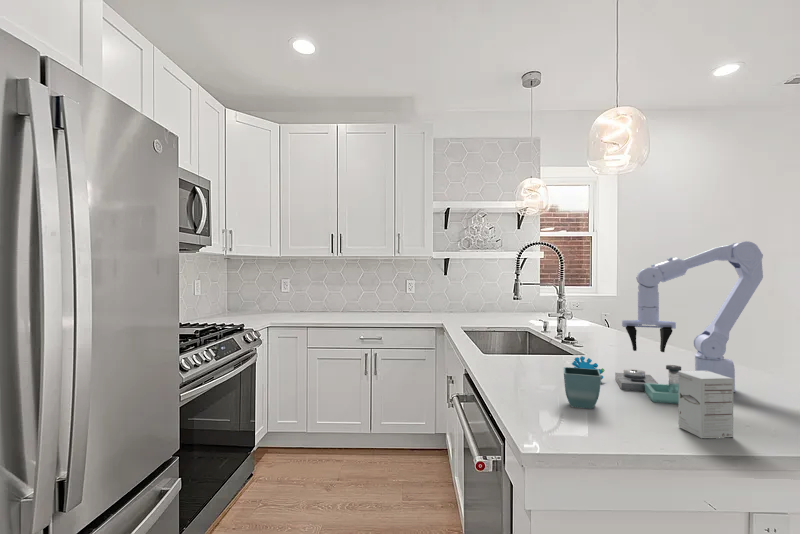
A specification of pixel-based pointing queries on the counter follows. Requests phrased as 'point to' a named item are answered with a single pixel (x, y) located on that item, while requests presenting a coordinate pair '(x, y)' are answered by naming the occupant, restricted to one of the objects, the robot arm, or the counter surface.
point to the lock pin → (673, 378)
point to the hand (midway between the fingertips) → (648, 351)
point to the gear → (586, 364)
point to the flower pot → (582, 386)
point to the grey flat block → (633, 379)
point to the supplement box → (706, 404)
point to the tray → (661, 393)
